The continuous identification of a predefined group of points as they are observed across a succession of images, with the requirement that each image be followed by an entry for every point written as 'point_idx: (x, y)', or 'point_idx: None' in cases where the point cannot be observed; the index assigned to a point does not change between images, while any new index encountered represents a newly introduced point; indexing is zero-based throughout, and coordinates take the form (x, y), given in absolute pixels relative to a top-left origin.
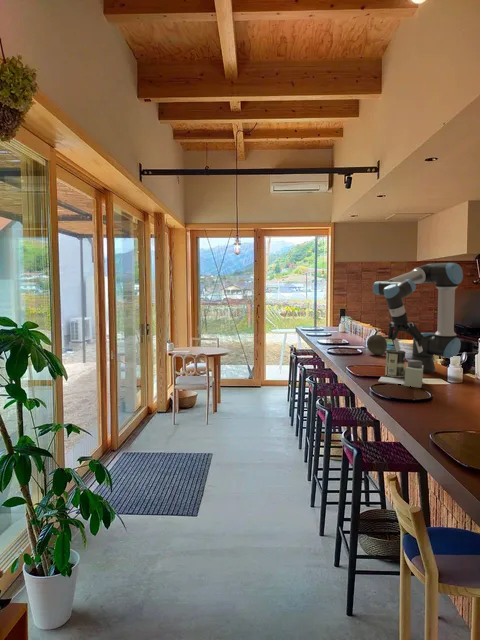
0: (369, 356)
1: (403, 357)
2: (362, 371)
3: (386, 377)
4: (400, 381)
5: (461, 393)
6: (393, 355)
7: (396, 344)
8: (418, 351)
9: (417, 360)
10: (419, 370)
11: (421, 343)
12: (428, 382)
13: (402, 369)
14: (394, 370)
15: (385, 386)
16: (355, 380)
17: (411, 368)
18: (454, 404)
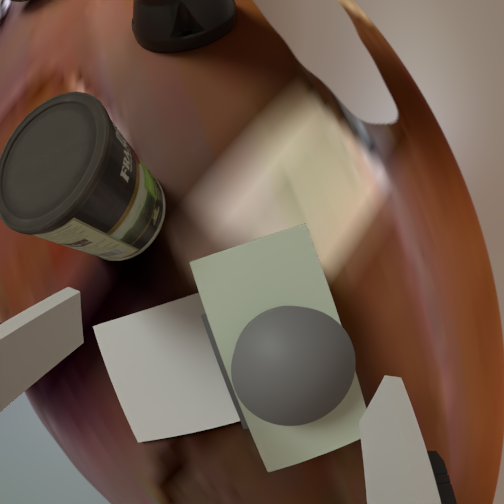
0: (19, 18)
1: (119, 176)
2: (4, 252)
3: (119, 329)
4: (214, 372)
5: (474, 336)
6: (55, 234)
7: (30, 370)
8: (362, 434)
9: (298, 318)
10: (354, 438)
11: (442, 483)
12: (315, 231)
13: (149, 208)
14: (117, 250)
15: (210, 493)
16: (76, 466)
17: (299, 445)
18: (464, 489)
